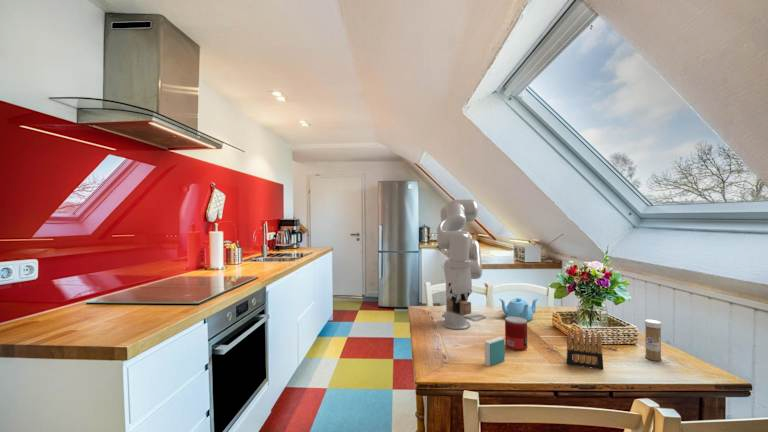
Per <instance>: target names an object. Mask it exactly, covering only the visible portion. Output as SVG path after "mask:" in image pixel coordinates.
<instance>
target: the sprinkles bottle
mask: <svg viewBox="0 0 768 432" xmlns="http://www.w3.org/2000/svg"><path fill="white" fill-rule="evenodd" d="M644 326H645V339H644V342H645V343H644V344H645V347H644V348H645V356H644V357H645V358H646V359H648V360H651V361H656V362H660V361H662V334H661V332H662V331H661V330H662V329H661V328H662V322H661V321H659V320H656V319H655V320H654V319H645V320H644Z"/></svg>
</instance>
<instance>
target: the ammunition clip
mask: <svg viewBox="0 0 768 432" xmlns="http://www.w3.org/2000/svg"><path fill="white" fill-rule="evenodd" d="M578 335H579V338H578ZM590 336H591V337H590ZM572 338H573V339H572ZM578 339H579V340H578ZM603 358H604V357H603V345H602V335H601V333H600V332H598V333H597V336H595V332H594V331H592V332H591V335H589V332H588V330H586V332H585V336H584V333H583V331H582V330H580V331H579V334H578V332H577V329H575V330H574V331H573V337H572V332H571V329H568V331H567V339H566V365H568V366H575V367H582V366H584V367H583V368H589V367H592V368H591V369H596V368H598V369H599V370H604V360H603ZM598 369H597V370H598Z"/></svg>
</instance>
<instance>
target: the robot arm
mask: <svg viewBox="0 0 768 432" xmlns="http://www.w3.org/2000/svg"><path fill="white" fill-rule="evenodd" d="M478 207H479V206H478V203H477V202H476V201H475V200H474V199H452V200H450V201H448V202H447V204H446V205H445V206H443V207H442V208H441V209H440V213H439V214H440V223H439V224H438V225H437V229H436V243H437V246H438V248H440V249H441V250H446V254H447V256H448V257H449V258H448V259H446V260H445V261H444V264H443V271H444V279H445V312H443V314H441V317H442V318H444V320H443V321H442V325H443V327H445V328H446V329H452V330H467V329H469V328H470V327H471V322H469V321H468V319H465V318H463V316H461V315H458V314H455V313H452V312H449V311H447V298H450V299H451V301H452V302H453V312H456V313H460V303H459V299H460V300H464V301H467V302H468V300H469V296H470V295H471V294H472V293H473V290H472V287H473V286H472V285H473V282H472V281H473V280H479V279H481V278H482V275H483V265H482V255H481V247H480V243H479V241H478V240H476V239H473V236H472V235H471V233H470V232H469V231H467V230H462V229H463V228H464V227H465V226H466V223H472V222H474V221H475V219H476V218H477V215H478V212H479V208H478Z"/></svg>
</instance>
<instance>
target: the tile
mask: <svg viewBox="0 0 768 432" xmlns="http://www.w3.org/2000/svg"><path fill="white" fill-rule="evenodd" d="M505 356H506V355H505V337H502V336H498V337H493V338H490V339H488V340H485V341H484V365H485V366H488V367H492V366H495V365H497V364H499V363H503V362H505Z"/></svg>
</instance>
